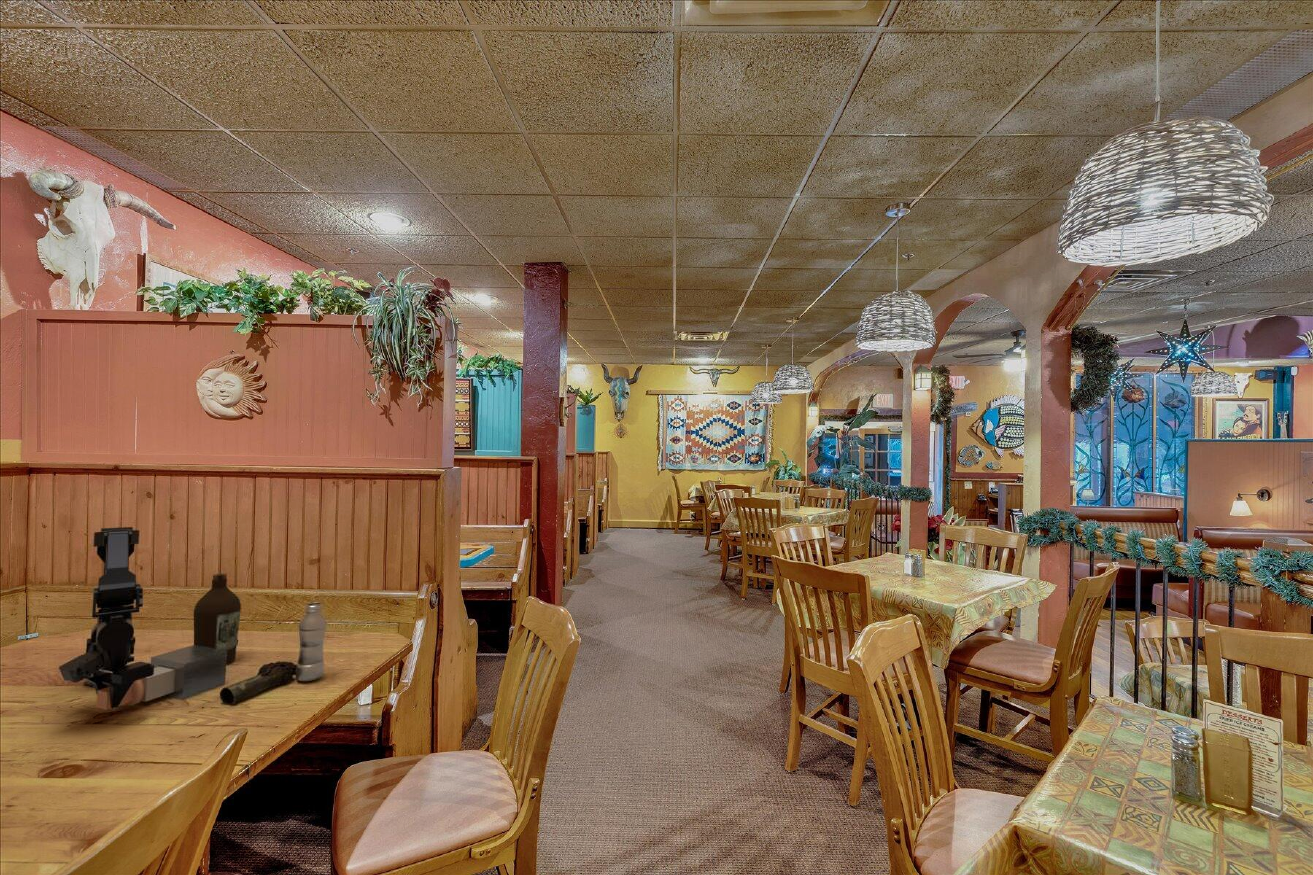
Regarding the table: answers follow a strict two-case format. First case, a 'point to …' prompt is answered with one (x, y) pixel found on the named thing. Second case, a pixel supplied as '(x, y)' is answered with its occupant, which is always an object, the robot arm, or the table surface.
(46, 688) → the table surface
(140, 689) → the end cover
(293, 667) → the metal pipe
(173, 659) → the housing
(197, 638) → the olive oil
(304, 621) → the plastic bottle
